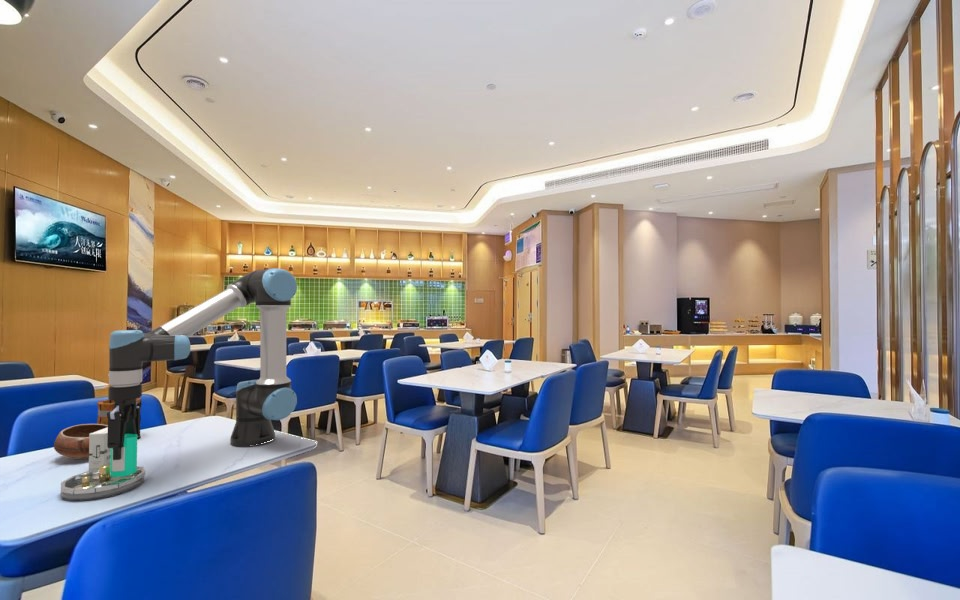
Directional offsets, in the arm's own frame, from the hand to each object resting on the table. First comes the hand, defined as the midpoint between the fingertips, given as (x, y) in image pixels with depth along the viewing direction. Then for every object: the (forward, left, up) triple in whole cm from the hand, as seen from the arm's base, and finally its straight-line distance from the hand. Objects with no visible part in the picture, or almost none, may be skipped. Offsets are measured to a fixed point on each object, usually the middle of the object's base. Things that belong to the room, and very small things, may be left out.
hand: (124, 466), depth 128 cm
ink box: (+14, -19, -6) cm, 24 cm away
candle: (0, 0, -2) cm, 2 cm away
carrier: (+5, 0, -5) cm, 7 cm away
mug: (+26, -53, -6) cm, 59 cm away
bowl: (+26, -31, -6) cm, 41 cm away
